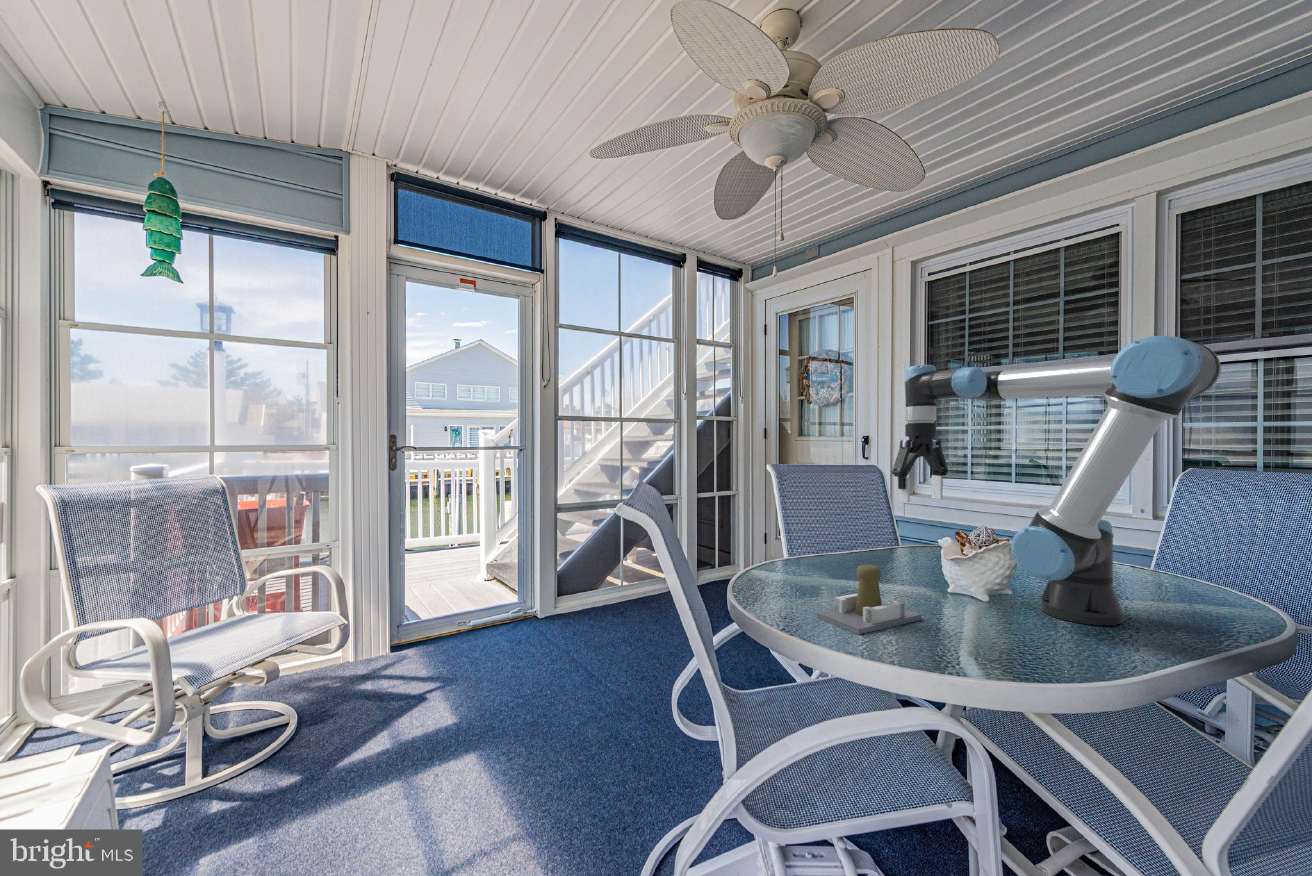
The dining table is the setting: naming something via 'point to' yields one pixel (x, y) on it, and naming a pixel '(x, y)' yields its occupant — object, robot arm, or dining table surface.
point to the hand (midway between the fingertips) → (921, 500)
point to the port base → (867, 615)
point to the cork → (868, 588)
